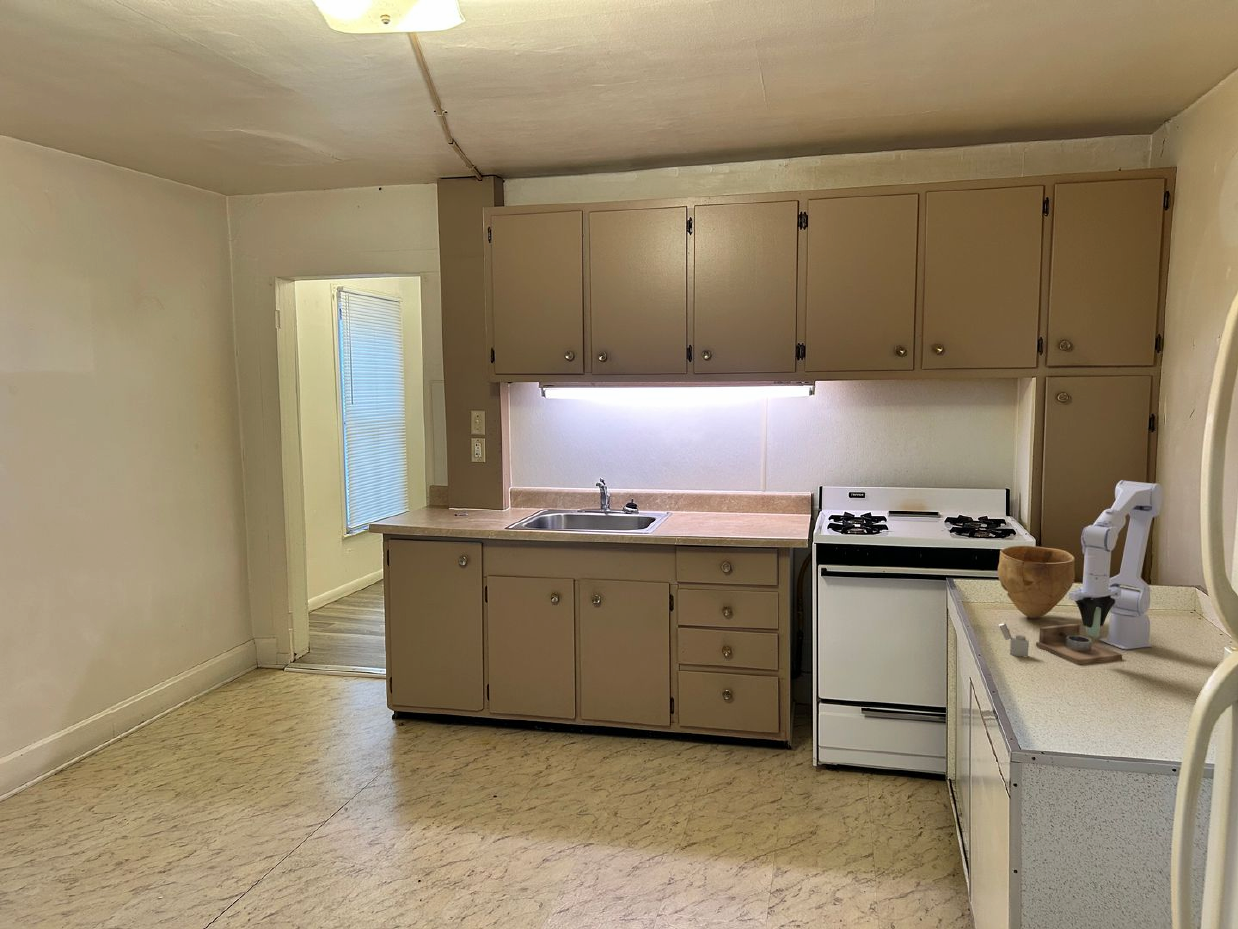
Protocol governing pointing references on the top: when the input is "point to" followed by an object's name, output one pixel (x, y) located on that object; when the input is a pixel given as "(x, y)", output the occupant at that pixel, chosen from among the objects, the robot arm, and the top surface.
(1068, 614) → the top surface
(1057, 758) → the top surface
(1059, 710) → the top surface
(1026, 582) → the bowl
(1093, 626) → the peg
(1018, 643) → the lighter
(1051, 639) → the cup bracket
